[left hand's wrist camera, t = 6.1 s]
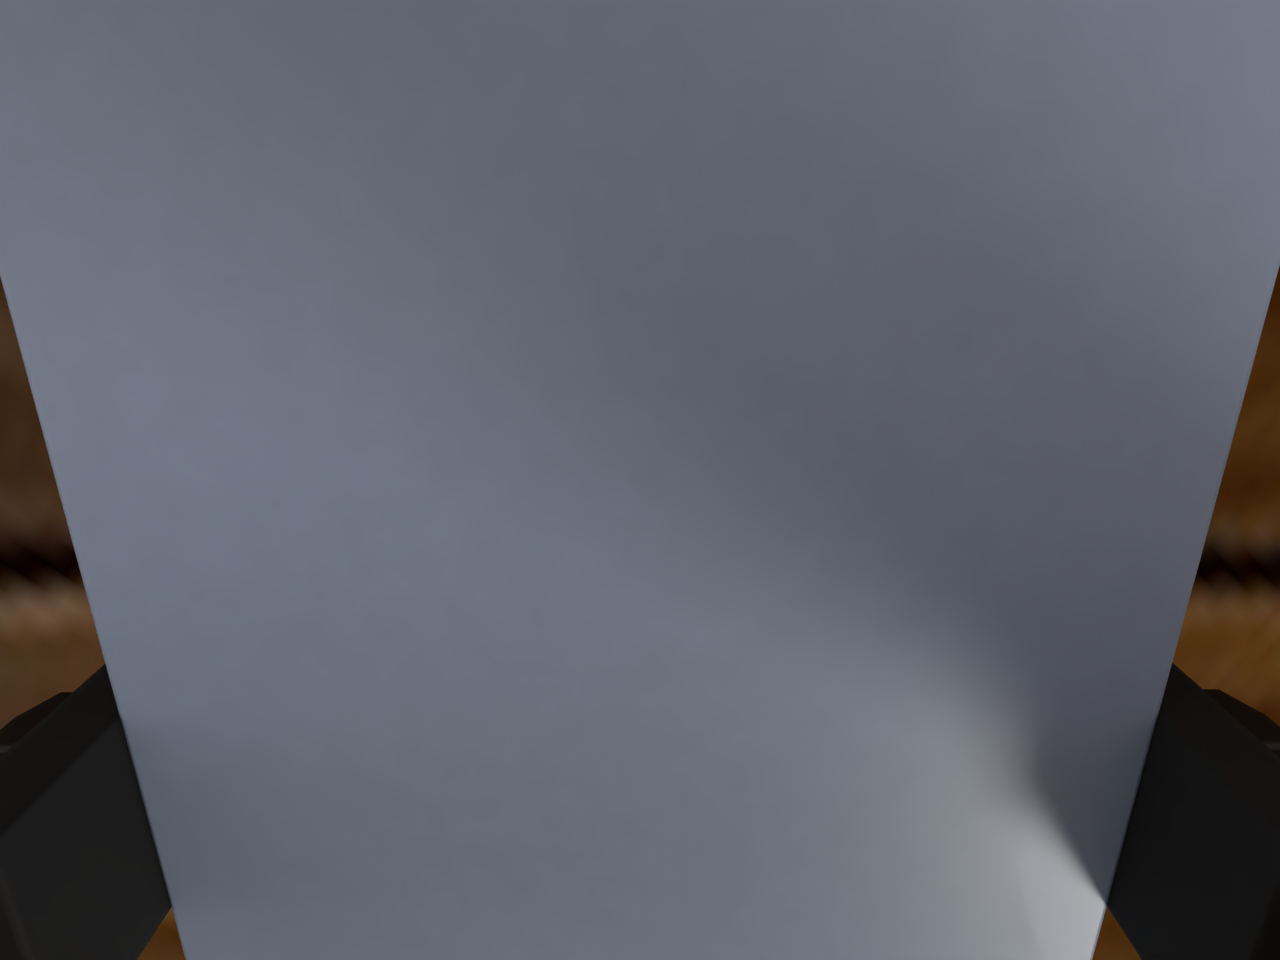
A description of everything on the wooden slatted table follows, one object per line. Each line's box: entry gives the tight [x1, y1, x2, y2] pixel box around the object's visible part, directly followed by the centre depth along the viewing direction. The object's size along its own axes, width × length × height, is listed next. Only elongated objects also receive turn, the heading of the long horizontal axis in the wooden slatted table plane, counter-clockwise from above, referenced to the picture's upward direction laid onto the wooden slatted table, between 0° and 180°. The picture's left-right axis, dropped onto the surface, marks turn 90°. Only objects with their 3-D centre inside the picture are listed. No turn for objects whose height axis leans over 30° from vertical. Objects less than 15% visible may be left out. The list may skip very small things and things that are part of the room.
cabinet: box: [0, 0, 1280, 960], centre depth 10 cm, size 21×11×9 cm, turn 0°
